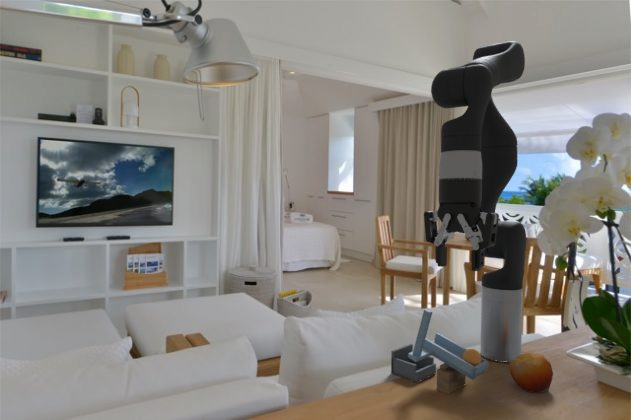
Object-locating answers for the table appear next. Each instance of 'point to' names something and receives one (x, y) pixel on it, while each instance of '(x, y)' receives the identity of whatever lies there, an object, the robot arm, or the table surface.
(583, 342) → the table surface
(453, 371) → the fulcrum
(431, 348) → the lever
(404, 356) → the tray
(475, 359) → the ball
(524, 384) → the fruit
